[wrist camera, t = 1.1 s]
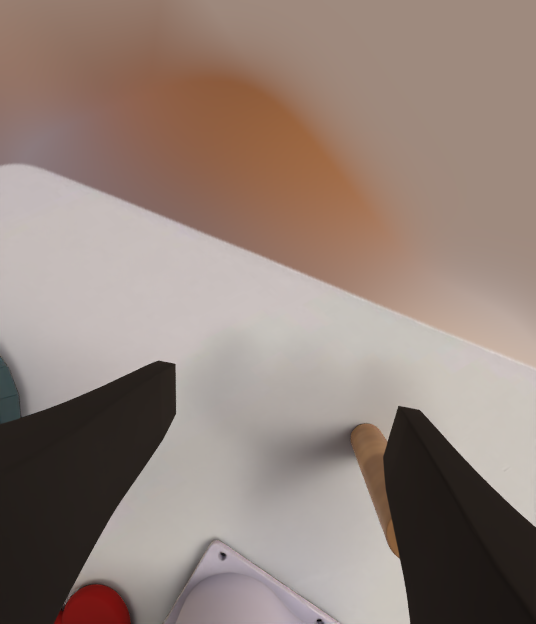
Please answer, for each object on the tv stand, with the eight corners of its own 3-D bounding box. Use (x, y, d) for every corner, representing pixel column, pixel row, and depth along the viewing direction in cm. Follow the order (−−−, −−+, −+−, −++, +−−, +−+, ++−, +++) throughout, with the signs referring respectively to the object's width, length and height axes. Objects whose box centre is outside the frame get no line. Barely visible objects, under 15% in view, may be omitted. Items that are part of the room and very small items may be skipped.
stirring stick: (389, 434, 20) (457, 528, 11) (372, 461, 20) (427, 576, 11) (360, 417, 20) (405, 495, 11) (344, 444, 20) (375, 543, 11)
